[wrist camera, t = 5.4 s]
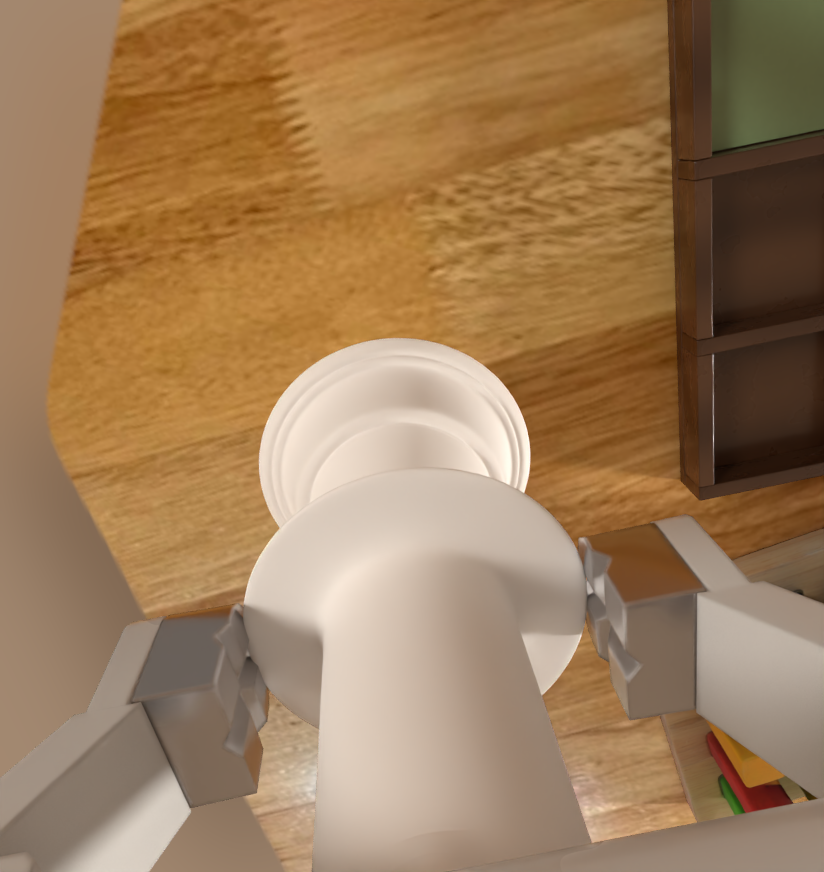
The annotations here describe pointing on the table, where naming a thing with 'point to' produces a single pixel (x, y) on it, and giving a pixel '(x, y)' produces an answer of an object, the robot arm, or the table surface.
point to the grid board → (748, 240)
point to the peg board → (711, 747)
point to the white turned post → (416, 611)
